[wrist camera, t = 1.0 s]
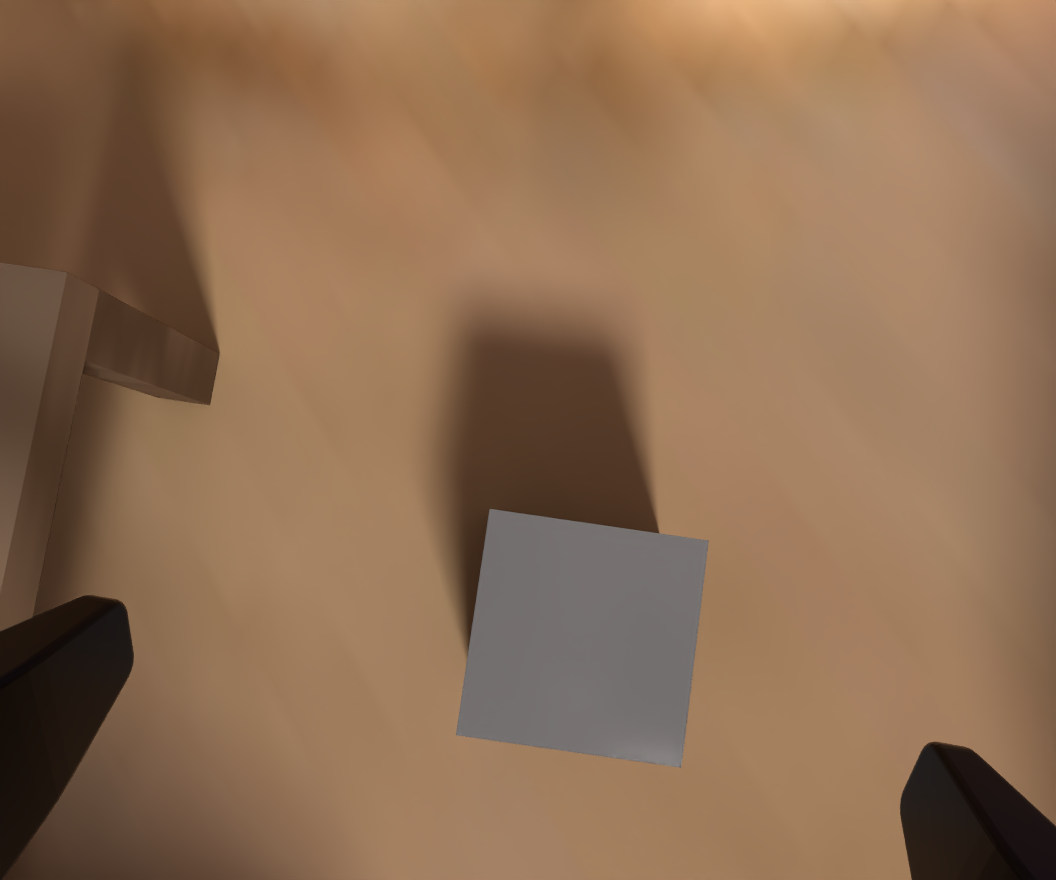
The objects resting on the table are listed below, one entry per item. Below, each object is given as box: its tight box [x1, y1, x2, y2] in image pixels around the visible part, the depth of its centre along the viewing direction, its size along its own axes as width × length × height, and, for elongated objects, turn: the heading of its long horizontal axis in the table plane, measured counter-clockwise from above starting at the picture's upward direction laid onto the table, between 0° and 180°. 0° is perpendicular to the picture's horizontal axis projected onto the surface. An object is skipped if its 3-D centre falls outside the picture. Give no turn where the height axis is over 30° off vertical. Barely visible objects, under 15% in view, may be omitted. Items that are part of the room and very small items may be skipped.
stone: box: [456, 509, 708, 768], centre depth 20 cm, size 5×5×6 cm
